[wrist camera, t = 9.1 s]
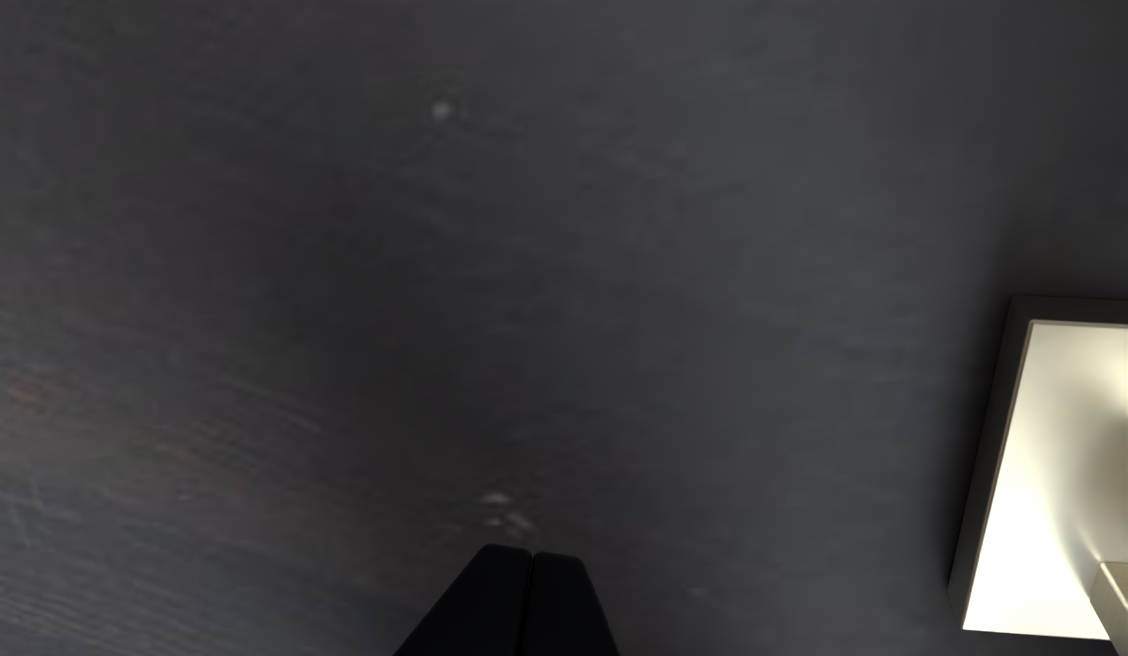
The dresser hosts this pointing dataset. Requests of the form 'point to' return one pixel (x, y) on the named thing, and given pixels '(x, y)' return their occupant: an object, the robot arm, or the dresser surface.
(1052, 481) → the bracket
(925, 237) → the dresser surface
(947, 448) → the dresser surface
